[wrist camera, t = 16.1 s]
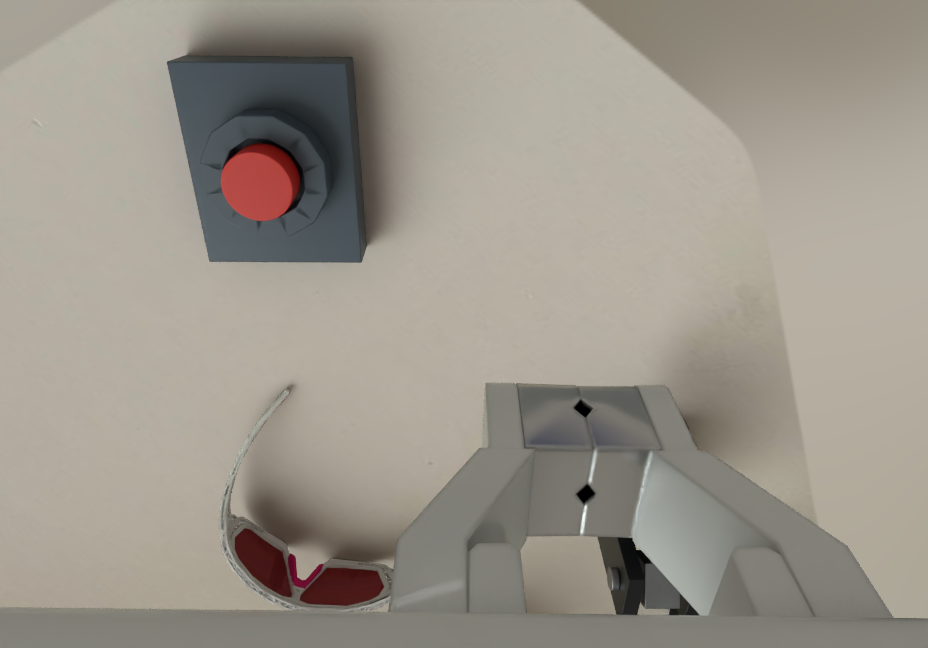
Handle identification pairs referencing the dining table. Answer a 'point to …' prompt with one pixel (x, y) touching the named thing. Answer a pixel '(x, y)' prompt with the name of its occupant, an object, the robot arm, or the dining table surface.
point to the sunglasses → (275, 570)
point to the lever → (657, 587)
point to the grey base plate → (286, 127)
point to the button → (260, 182)
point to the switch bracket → (628, 576)
